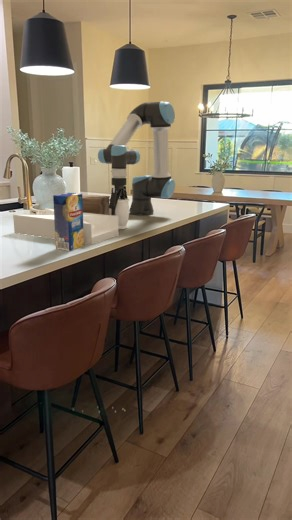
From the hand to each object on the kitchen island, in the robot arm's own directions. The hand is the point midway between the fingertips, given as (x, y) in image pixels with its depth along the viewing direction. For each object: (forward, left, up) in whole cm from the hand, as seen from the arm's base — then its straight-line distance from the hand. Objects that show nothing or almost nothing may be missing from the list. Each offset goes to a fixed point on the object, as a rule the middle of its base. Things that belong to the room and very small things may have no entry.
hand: (119, 219), depth 211 cm
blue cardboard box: (+45, -4, -5) cm, 45 cm away
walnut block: (+1, -15, -5) cm, 16 cm away
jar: (0, 0, -5) cm, 5 cm away
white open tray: (+23, -18, -5) cm, 30 cm away
